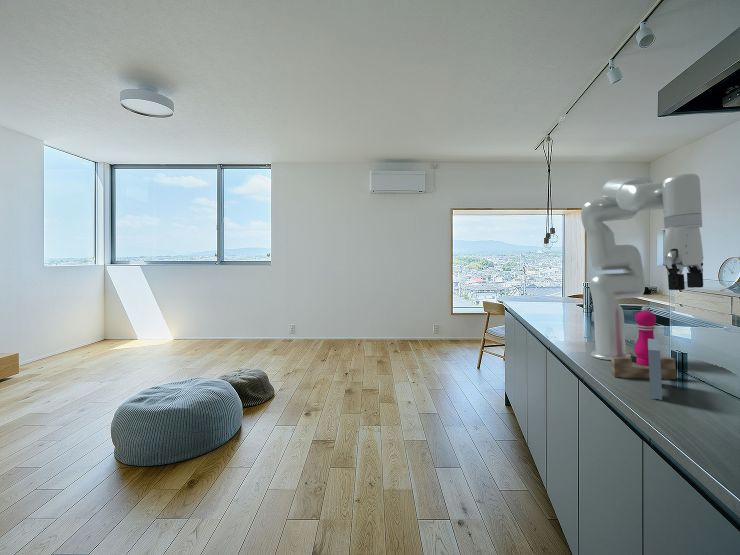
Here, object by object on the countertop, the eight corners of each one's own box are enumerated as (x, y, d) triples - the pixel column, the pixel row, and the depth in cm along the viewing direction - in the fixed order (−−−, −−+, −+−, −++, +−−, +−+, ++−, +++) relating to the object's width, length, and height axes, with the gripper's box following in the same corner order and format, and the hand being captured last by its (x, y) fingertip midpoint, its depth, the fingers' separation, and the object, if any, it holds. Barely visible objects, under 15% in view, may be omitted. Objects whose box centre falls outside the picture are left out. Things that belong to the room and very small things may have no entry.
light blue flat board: (649, 382, 108) (647, 338, 108) (660, 383, 106) (658, 339, 106) (650, 398, 95) (648, 349, 95) (662, 400, 94) (659, 350, 94)
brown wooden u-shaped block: (614, 377, 114) (613, 358, 114) (612, 375, 116) (611, 356, 116) (676, 379, 109) (675, 359, 109) (672, 376, 111) (671, 357, 111)
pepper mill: (665, 366, 122) (662, 307, 122) (641, 366, 123) (638, 308, 123) (653, 360, 129) (650, 305, 129) (630, 361, 131) (627, 306, 130)
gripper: (681, 225, 102) (685, 286, 102) (648, 225, 94) (651, 290, 94) (716, 221, 95) (720, 286, 95) (683, 220, 87) (687, 291, 87)
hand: (686, 288), depth 94 cm, fingers open, 9 cm apart
